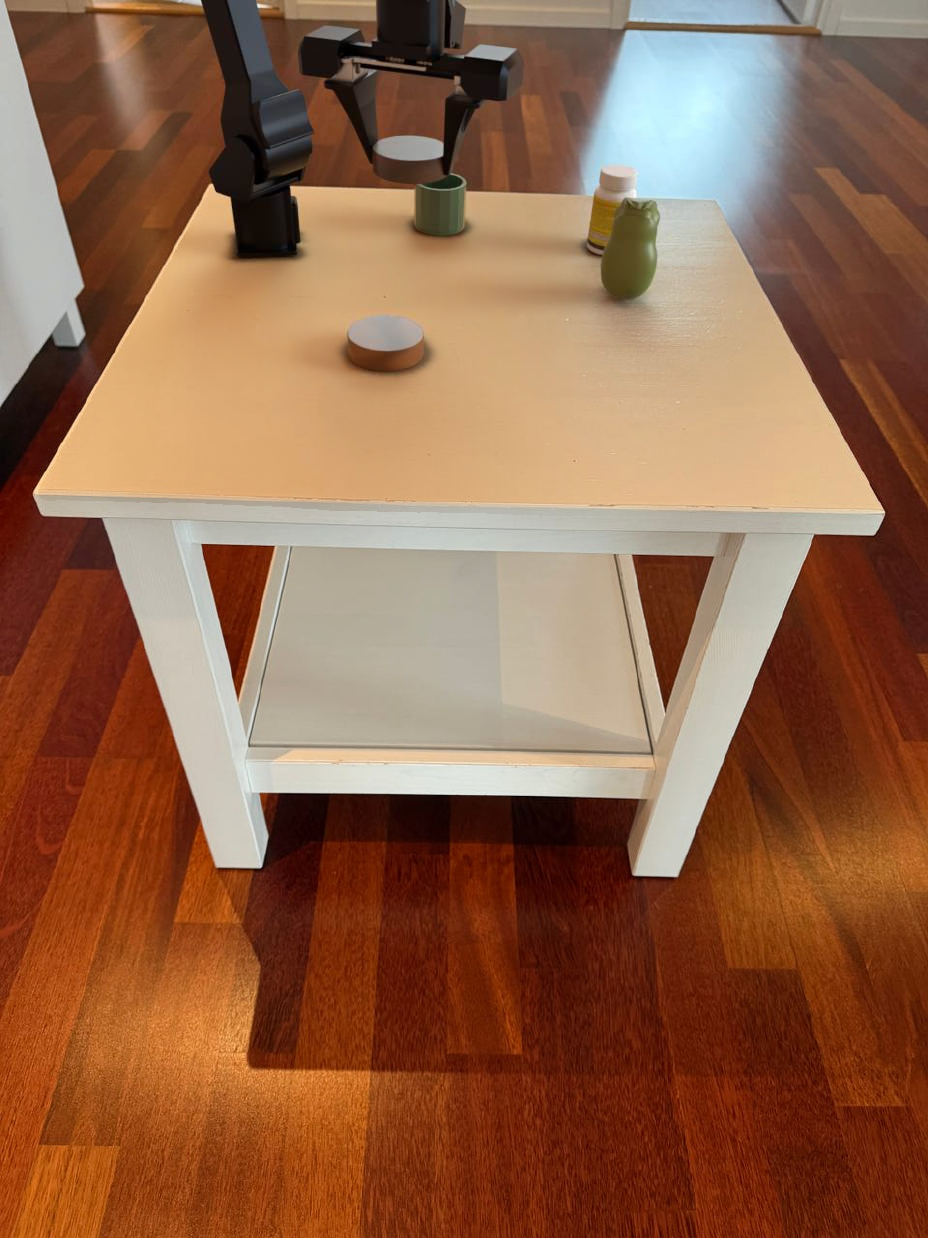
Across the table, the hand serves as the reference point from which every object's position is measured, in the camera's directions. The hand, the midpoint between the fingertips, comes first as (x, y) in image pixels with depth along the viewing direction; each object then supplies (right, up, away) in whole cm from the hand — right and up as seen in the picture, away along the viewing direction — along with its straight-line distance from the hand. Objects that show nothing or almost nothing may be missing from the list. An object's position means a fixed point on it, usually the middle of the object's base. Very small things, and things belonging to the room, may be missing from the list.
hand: (411, 168), depth 84 cm
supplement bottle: (+21, +1, +20) cm, 29 cm away
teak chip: (-2, -17, +1) cm, 17 cm away
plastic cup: (+2, +4, +22) cm, 23 cm away
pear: (+21, -8, +11) cm, 26 cm away
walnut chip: (0, 0, 0) cm, 0 cm away
